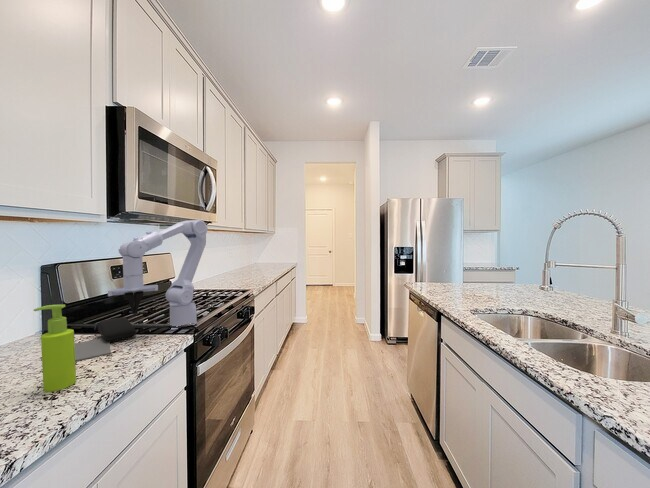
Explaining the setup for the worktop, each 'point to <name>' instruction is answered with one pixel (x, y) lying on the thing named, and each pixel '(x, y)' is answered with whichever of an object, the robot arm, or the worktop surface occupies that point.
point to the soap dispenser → (57, 352)
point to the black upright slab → (115, 329)
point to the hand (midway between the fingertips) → (134, 313)
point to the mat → (91, 349)
